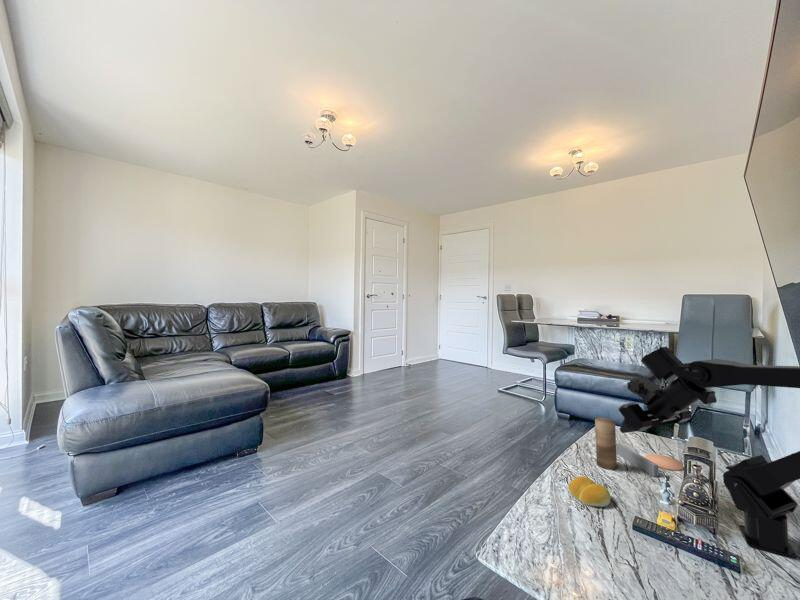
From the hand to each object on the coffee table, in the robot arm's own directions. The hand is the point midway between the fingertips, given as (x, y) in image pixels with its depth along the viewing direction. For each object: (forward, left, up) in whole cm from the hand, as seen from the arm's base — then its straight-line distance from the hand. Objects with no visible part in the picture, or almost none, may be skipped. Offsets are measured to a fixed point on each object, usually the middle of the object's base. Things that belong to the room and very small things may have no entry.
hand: (633, 428), depth 89 cm
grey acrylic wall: (+9, 0, -13) cm, 16 cm away
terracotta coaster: (+14, -7, -13) cm, 21 cm away
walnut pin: (+4, +7, -13) cm, 16 cm away
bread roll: (-16, +10, -14) cm, 23 cm away
